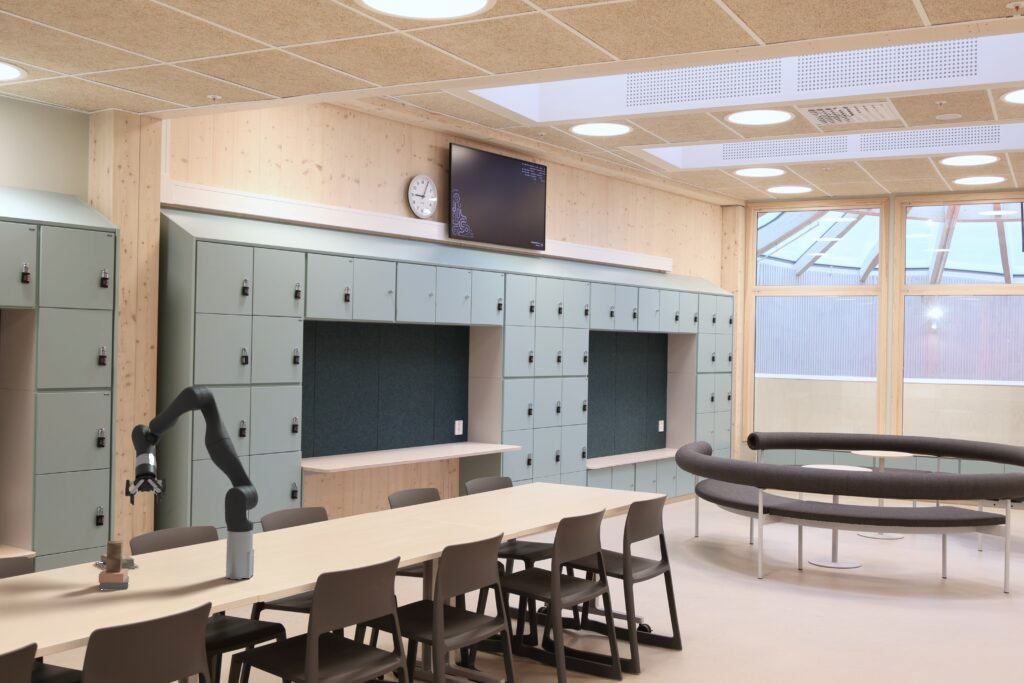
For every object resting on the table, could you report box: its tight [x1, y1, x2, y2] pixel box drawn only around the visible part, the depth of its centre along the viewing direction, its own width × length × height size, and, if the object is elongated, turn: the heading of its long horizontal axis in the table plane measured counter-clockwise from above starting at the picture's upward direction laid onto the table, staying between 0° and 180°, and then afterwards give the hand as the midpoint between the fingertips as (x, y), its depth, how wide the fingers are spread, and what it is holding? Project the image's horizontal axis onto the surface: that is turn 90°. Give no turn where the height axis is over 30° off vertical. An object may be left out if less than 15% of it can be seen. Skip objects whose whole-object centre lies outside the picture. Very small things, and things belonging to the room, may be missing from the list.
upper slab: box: [98, 568, 129, 584], centre depth 338 cm, size 8×8×3 cm
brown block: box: [106, 540, 124, 572], centre depth 339 cm, size 4×4×10 cm
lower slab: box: [99, 575, 130, 591], centre depth 338 cm, size 9×9×3 cm
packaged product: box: [95, 552, 140, 570], centre depth 369 cm, size 18×5×10 cm
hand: (145, 503), depth 356 cm, fingers open, 8 cm apart
